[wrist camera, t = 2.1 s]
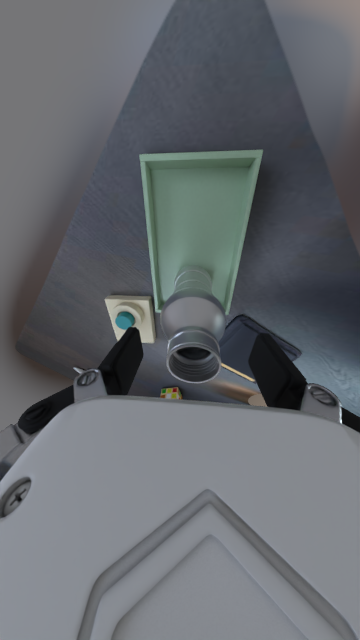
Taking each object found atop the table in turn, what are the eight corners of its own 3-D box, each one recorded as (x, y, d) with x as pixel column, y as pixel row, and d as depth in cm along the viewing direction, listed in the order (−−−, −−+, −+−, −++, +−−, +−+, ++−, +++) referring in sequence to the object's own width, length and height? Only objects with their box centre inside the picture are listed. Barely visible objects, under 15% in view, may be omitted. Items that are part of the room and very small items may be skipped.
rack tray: (146, 165, 19) (139, 154, 16) (252, 162, 18) (263, 149, 15) (158, 305, 30) (155, 312, 27) (225, 307, 29) (228, 314, 26)
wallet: (307, 358, 32) (255, 388, 39) (302, 352, 34) (252, 382, 41) (244, 315, 27) (198, 358, 35) (241, 311, 29) (198, 353, 36)
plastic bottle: (189, 303, 28) (184, 403, 11) (168, 276, 26) (122, 353, 9) (216, 285, 26) (263, 378, 9) (197, 254, 24) (210, 300, 7)
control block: (110, 295, 29) (99, 302, 26) (151, 296, 29) (145, 304, 26) (121, 335, 35) (113, 346, 32) (156, 337, 35) (152, 348, 31)
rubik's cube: (167, 398, 48) (164, 415, 44) (161, 388, 46) (158, 406, 41) (182, 396, 47) (181, 414, 43) (177, 387, 45) (175, 404, 40)
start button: (117, 311, 27) (113, 315, 26) (133, 311, 27) (129, 316, 25) (121, 324, 29) (117, 329, 27) (135, 325, 29) (132, 330, 27)
